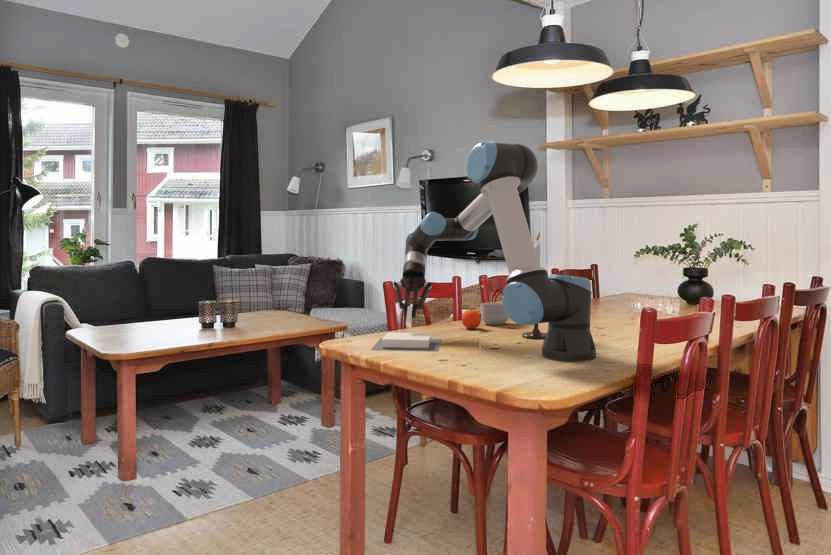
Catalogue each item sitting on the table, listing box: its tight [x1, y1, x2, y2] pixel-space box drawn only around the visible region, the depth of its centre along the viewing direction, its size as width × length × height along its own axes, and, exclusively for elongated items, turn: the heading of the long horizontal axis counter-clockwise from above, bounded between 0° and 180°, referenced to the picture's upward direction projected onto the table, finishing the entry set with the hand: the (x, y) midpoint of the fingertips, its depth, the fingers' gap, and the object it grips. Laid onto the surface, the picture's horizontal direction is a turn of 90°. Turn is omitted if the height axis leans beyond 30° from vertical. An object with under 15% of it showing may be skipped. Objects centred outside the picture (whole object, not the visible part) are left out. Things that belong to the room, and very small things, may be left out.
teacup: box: [479, 301, 510, 326], centre depth 246 cm, size 14×11×8 cm
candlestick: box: [521, 231, 547, 340], centre depth 217 cm, size 11×11×35 cm
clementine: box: [461, 308, 482, 330], centre depth 235 cm, size 8×7×7 cm
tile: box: [382, 331, 433, 349], centre depth 202 cm, size 3×14×12 cm
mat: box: [370, 337, 443, 352], centre depth 203 cm, size 20×20×1 cm
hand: (408, 325), depth 206 cm, fingers closed
